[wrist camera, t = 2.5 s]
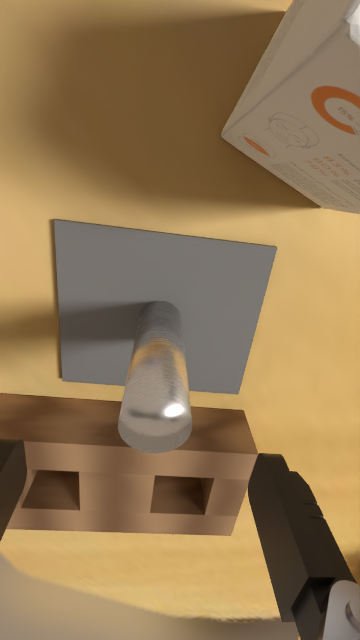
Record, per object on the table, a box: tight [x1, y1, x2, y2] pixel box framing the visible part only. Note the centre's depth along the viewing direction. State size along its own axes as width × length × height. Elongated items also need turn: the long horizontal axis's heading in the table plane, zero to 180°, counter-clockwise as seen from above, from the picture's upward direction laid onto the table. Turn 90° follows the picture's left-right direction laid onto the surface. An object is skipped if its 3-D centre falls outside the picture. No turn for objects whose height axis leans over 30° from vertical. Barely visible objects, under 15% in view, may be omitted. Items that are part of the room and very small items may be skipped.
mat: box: [54, 219, 277, 394], centre depth 21 cm, size 14×12×1 cm
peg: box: [118, 301, 192, 453], centre depth 16 cm, size 3×3×10 cm
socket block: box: [0, 394, 258, 536], centre depth 25 cm, size 20×10×4 cm, turn 83°
